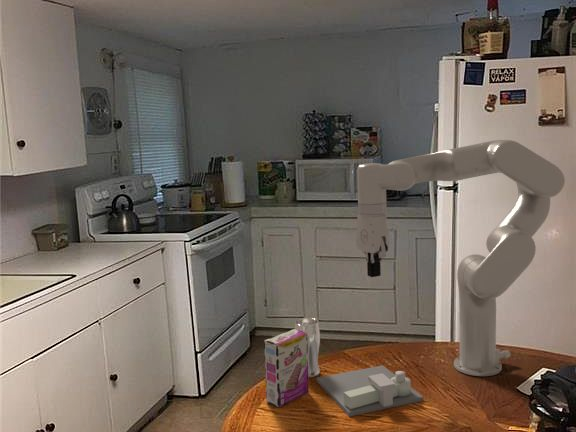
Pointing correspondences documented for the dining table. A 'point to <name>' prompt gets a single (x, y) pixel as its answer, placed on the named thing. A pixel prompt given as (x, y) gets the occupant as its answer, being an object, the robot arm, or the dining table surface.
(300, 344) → the candy bar box
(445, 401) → the dining table surface
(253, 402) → the dining table surface
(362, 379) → the board
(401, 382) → the link
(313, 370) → the beer glass
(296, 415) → the dining table surface
